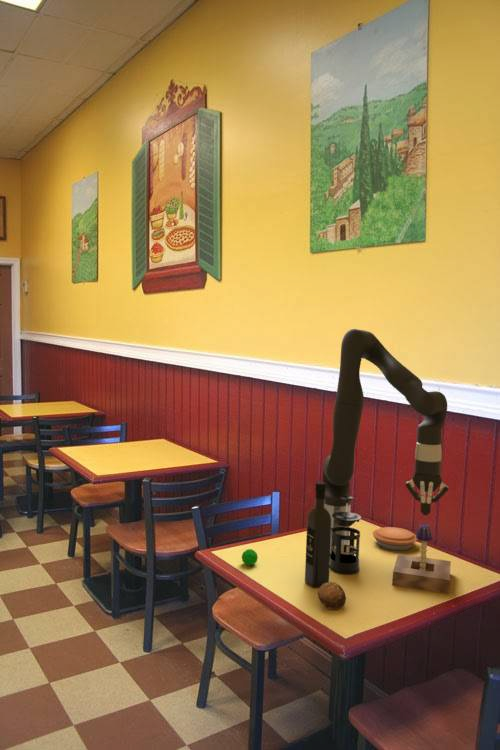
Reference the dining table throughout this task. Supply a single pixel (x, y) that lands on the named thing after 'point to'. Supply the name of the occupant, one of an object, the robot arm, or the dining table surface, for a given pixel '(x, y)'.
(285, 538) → the dining table surface
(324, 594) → the brown round lump
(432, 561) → the socket block
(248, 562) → the green ball
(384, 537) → the pie
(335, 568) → the french press
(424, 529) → the toy lamp
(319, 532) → the wine bottle
